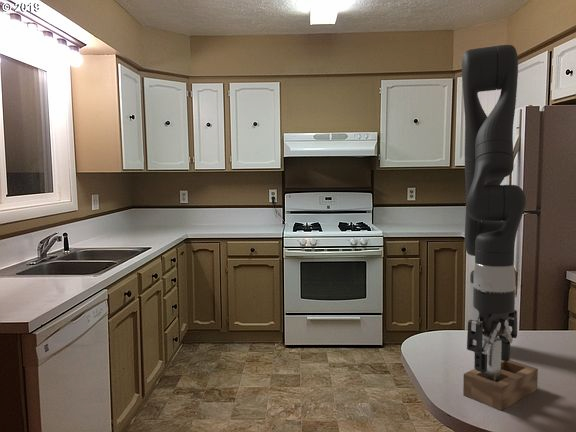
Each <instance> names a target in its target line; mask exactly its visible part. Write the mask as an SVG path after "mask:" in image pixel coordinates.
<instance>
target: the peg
mask: <svg viewBox="0 0 576 432" xmlns="http://www.w3.org/2000/svg"><path fill="white" fill-rule="evenodd" d="M486 338H488V337H486ZM501 347H502V340H501V339H500V338H498V337H496V338H495V339H494V342H493V344H491V345H489V348H488V351H487V353H486V354H487V371H486V372H485V378H486V379H489V380H492V381H494V382H499V381H501Z"/></svg>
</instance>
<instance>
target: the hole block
mask: <svg viewBox="0 0 576 432" xmlns="http://www.w3.org/2000/svg"><path fill="white" fill-rule="evenodd" d="M538 371H539V368H537V367H534V366H530V365H527V364H525V363H522V362H521V363H520V362H518V361H514V360H511V359H510V360H509V361H507V362H506V361H503V360H501V381H499V382H494V381H492V380H489V379H486V378H485V372H484V373H483V372H480V371H477V370H476V369H475V368H473V369H471V370H469V371H466V372H464V373H463V384H462V386H463V388H462V390H463V396H464V397H468V398H470V399H471V400H474V401H477V402H480V403H481V404H484V405H486V406H489V407H491V408H492V409H496V410H498V411H503V410H505V409H506V408H508V407H511V406H512V405H514V404H515V403H517V402H519V401H520V400H522V399H523V398H526V397H527V396H529V395H531V394H533V393H534V392H536V391H537V390H538V379H539V377H538V374H539V372H538Z"/></svg>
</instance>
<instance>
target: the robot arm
mask: <svg viewBox="0 0 576 432" xmlns="http://www.w3.org/2000/svg"><path fill="white" fill-rule="evenodd" d="M518 74H519V59H518V52H517V49H516V47H515V46H514V45H513V44H500V45H492V46H485V47H477V48H470V49H467V50H466V51H465V52H464V53H463V56H462V61H461V81H462V93H463V96H462V97H463V109H464V177H465V199H466V201H465V219H464V222H465V223H464V225H465V226H464V248H465V252H466V253H467V254H468V255H469V256H473V257H474V269H473V270H471V271H470V276H469V277H470V281H469V287H470V288H469V320H468V321H467V336H466V337H467V338H466V350H468V351H471V352H473V353H474V369H476V370H477V371H480V372H483V373H484V372H486V371H487V354H486V353H487V351H488V348H489V345H491V344H493V342H494V339H495V338H496V337H498V338H500V339H501V340H502V347H501V360H503V361H506V362H507V361H509V360H511V344H512V343H513V339H516V338H517V337H518V311H517V310H516V309H515V308H516V307H515V305H516V303H515V302H516V300H515V299H516V272H515V245H516V244H515V243H516V238H517V234H518V233H517V232H518V229H519V226H520V223H521V220H522V217H523V215H524V213H525V209H526V205H527V197H526V194H525V191H524V190H523V188H522V187H520V186H518V185H516V184H502V183H503V181H504V179H505V178H506V177H509V176H511V174H512V173H513V171H514V166H515V165H514V163H515V161H514V132H513V131H514V123H515V122H514V120H515V113H516V103H517V93H518V92H517V89H518V80H519V79H518V76H519V75H518ZM490 91H492V92H493V91H500V95H499V98H498V100H497V102H496V104H495V105H494V108H492V110H491V112H490V113H489V114H488V115H487V113H486V112H485V110H484V109H483V107H482V104H481V102H480V99H479V95H478V94H479V92H480V93H481V92H490ZM486 337H488V338H486Z"/></svg>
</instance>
